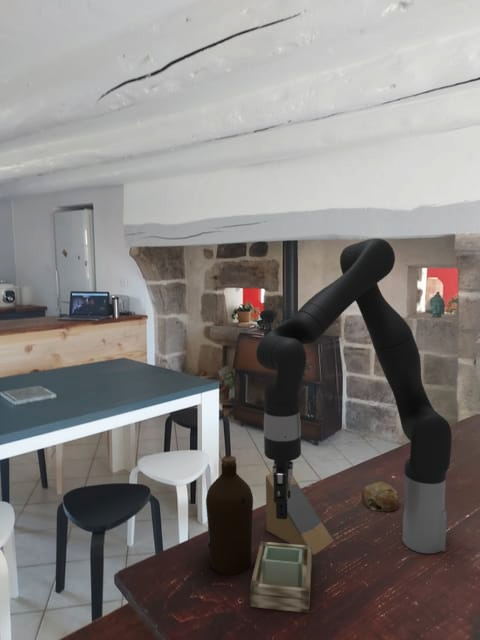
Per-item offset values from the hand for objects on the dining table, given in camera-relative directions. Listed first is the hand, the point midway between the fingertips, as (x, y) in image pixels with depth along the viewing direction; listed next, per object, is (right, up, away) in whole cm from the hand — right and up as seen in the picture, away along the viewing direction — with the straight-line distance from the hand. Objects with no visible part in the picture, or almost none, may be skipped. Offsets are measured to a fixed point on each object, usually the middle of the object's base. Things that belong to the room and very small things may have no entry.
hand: (283, 507), depth 104 cm
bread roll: (+30, -13, +37) cm, 50 cm away
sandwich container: (+6, -15, +21) cm, 27 cm away
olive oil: (-11, -17, +11) cm, 23 cm away
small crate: (0, -17, +2) cm, 17 cm away
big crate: (0, -17, +3) cm, 18 cm away
